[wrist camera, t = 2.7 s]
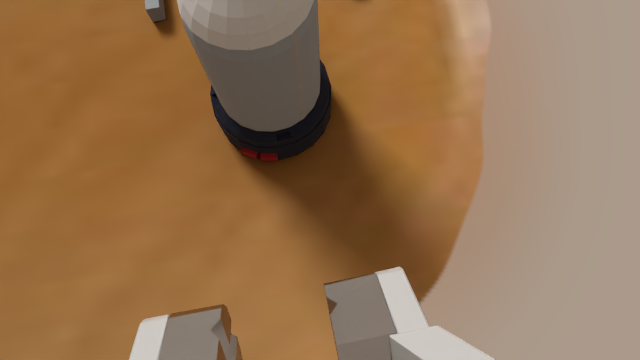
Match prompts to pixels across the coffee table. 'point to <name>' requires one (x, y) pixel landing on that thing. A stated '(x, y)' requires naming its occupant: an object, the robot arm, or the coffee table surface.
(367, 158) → the coffee table surface
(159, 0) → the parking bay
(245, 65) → the humidifier
